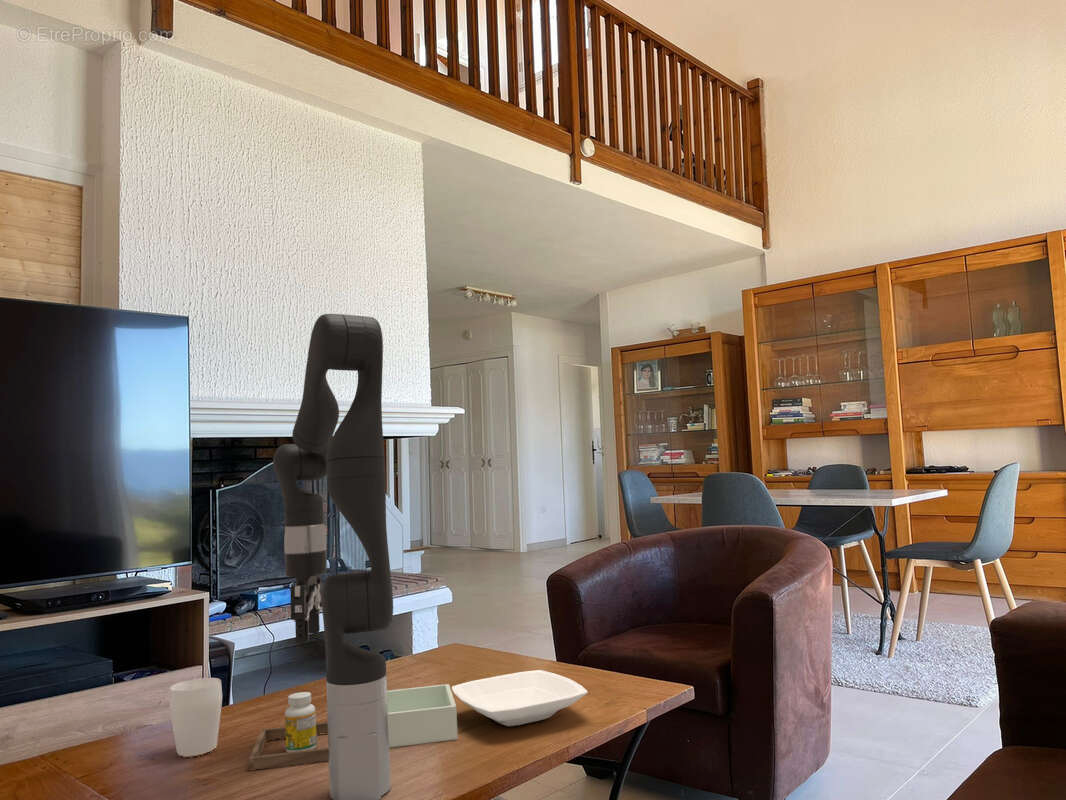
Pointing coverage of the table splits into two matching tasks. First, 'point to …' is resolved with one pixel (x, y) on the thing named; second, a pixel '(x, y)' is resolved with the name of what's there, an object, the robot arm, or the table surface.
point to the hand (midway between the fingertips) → (308, 637)
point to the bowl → (520, 696)
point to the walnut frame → (289, 757)
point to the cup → (196, 715)
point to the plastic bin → (421, 715)
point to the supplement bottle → (300, 723)
